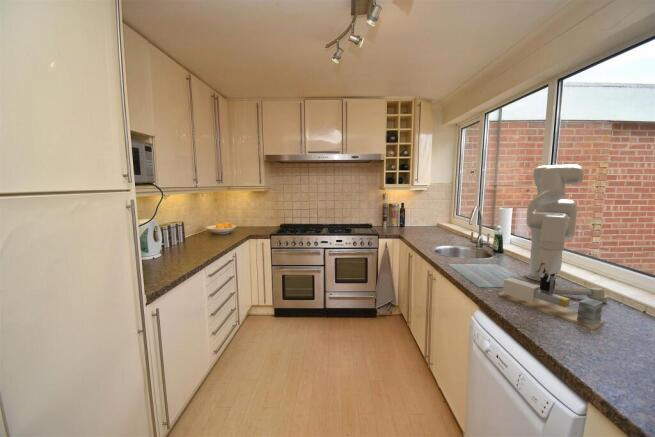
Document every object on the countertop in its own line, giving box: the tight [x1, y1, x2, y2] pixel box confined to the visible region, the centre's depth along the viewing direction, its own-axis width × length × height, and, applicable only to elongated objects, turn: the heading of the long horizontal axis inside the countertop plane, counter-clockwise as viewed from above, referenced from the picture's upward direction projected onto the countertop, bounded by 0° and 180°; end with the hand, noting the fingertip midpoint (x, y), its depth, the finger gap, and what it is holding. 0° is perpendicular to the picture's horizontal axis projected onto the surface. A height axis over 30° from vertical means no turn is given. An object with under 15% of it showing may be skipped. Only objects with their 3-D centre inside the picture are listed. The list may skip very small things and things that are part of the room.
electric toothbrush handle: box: [537, 284, 609, 304], centre depth 120 cm, size 5×7×25 cm
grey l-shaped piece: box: [534, 275, 570, 308], centre depth 113 cm, size 21×3×10 cm, turn 26°
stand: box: [497, 291, 605, 331], centre depth 110 cm, size 33×9×8 cm, turn 26°
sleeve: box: [502, 277, 540, 303], centre depth 118 cm, size 12×5×7 cm, turn 27°
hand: (547, 288), depth 110 cm, fingers closed on grey l-shaped piece, 3 cm apart
